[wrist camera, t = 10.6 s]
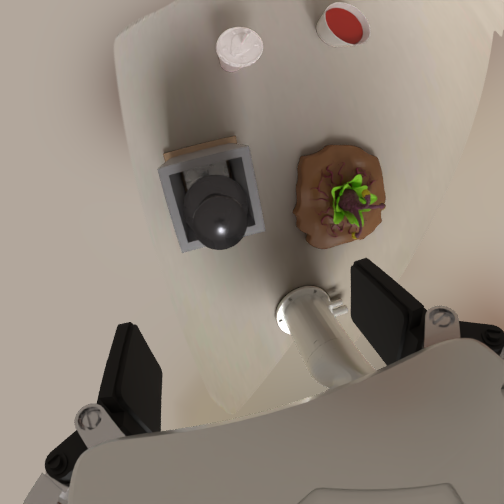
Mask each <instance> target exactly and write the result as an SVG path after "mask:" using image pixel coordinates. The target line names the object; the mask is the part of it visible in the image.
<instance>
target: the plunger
mask: <svg viewBox="0 0 504 504" xmlns="http://www.w3.org/2000/svg"><path fill="white" fill-rule="evenodd" d="M183 174H184V178H185V181H186V185H187V189H188V191H187V193H186V195H185V198H184V203H183V214H184V218H185V220H186V222H187V224H188V226H189V227H190V228H191V229H192V230H193V231H194V233H195V235H196V237H197V239H198V240H199V241H200V242H201V243H202V244H203V245H205V246H206V247H208V248H211V249H216V250H222V249H227V248H230V247H232V246H234V245H236V244H237V243H238V242H239V241H240V240H241V239H242V238H243V236H244V235H245V232H246V229H247V212H248V201H247V197H246V195H245V192H244V191H243V189H242V188H241V187H240V185H239V184H238V183H237V182H235V181H234V180H233V179H231V178H229V173H228V169H227V164H226V160H225V161H221V162H217V163H213V164H209V165H205V166H201V167H197V168H193V169H189V170H186V171H183Z"/></svg>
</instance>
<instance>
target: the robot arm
mask: <svg viewBox="0 0 504 504" xmlns="http://www.w3.org/2000/svg"><path fill="white" fill-rule="evenodd" d="M342 304H343V302H342V299H338V300H335V301H333V302H331V301H330V298H329V296H328V295H327V293H326V292H325V291H324V290H323V289H321V288H319V287H315V286H303V287H300V288H297V289H295V290H293V291H291V292H290V293H288V294H287V295H286V296H285V297H284V298H283V299H282V300H281V302H280V303H279V305H278V307H277V310H276V321H277V323H278V325H279V327H280V328H281V329H282V331H284V332H286V333H288V334H291V336H292V338H293V340H294V342H295V344H296V346H297V348H298V350H299V353H300V355H301V356H302V359H303V361H304V363H305V365H306V367H307V369H308V371H309V373H310V375H311V377H312V378H313V379H314V380H315V381H317V382H318V383H319V384H321V385H323V386H325V387H328V388H329V389H328V390H326V391H325V392H322V393H320V394H317V395H314V396H311V397H308V398H305V399H302V400H299V401H296V402H293V403H290V404H286V405H283V406H280V407H277V408H273V409H270V410H266V411H262V412H258V413H254V414H250V415H246V416H242V417H238V418H234V419H229V420H225V421H220V422H215V423H210V424H206V425H199V426H193V427H187V428H181V429H175V430H168V431H161V394H162V370H161V368H160V366H159V364H158V362H157V361H156V359H155V357H154V355H153V354H152V352H151V350H150V348H149V347H148V345H147V343H146V341H145V339H144V338H143V336H142V334H141V332H140V330H139V328H138V326H137V325H133V324H132V323H131V322H129V323H124V324H119V325H118V327H117V330H116V333H115V336H114V340H113V343H112V346H111V350H110V354H109V357H108V360H107V363H106V367H105V371H104V375H103V379H102V383H101V387H100V391H99V396H98V400H97V404H88V405H86V406H84V407H82V408H81V409H80V410H79V411H78V413H77V414H76V417H75V427H76V429H77V430H76V431H75V432H74V433H73V434H72V435H70V436H69V437H68V438H67V439H66V440H64V441H63V442H62V443H61V444H60V445H59V446H57V448H55V449H54V450H53V451H52V452H50V454H49V455H48V456H47V458H46V461H45V469H46V474H43V473H42V474H41V475H40V477H39V478H38V480H37V481H36V483H35V485H34V486H33V488H32V489H31V491H30V492H29V494H28V496H27V497H26V499H25V501H24V503H23V504H504V332H503V330H501V329H500V328H499V327H497V326H494V325H488V324H479V323H471V322H463V321H459V319H458V315H457V314H456V313H455V311H454V310H452V309H451V308H448V307H445V306H435V307H432V308H430V309H429V310H428V311H427V310H426V309H425V308H424V306H423V305H422V304H421V303H420V302H419V301H418V300H416V299H415V298H414V297H413V296H412V295H411V294H410V293H409V292H407V291H406V290H405V289H404V288H403V287H402V286H400V285H399V284H398V283H397V282H396V281H394V280H393V279H392V278H391V277H390V276H389V275H387V274H386V273H385V272H384V271H382V270H381V269H380V268H379V267H378V266H376V265H375V264H374V263H373V262H371V261H370V260H369V259H367V258H364V259H361V260H358V261H355V262H354V264H353V266H351V318H352V320H353V322H354V323H355V325H356V326H357V327H358V328H359V330H360V331H361V332H362V334H363V335H364V336H365V337H366V339H367V340H368V341H369V343H370V344H371V345H372V346H373V348H374V349H375V350H376V352H377V353H378V354H379V355H380V357H381V358H382V359H383V361H384V362H385V363H386V365H387V366H386V367H383V368H381V369H379V370H376V369H374V367H373V366H372V365H371V364H370V363H369V362H368V361H367V360H366V359H365V358H364V356H363V355H362V353H361V352H360V351H359V350H358V348H357V347H356V345H355V344H354V343H353V341H352V340H351V338H350V337H349V336H348V334H347V333H346V331H345V330H344V329H343V327H342V326H341V324H340V323H339V322H338V320H337V319H336V316H339V315H343V314H346V313H348V308H347V306H346V305H343V306H341V307H338V308H336V309H333V307H336V306H340V305H342Z"/></svg>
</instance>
